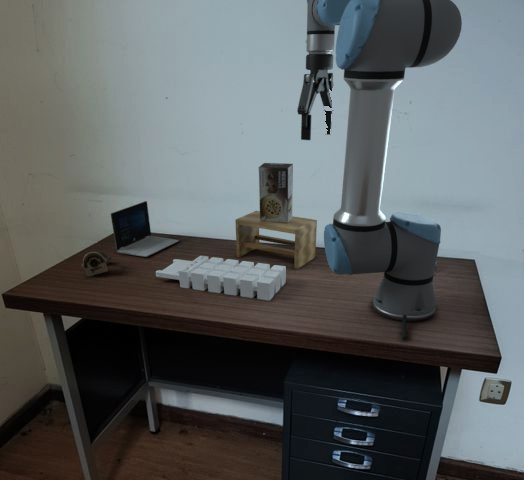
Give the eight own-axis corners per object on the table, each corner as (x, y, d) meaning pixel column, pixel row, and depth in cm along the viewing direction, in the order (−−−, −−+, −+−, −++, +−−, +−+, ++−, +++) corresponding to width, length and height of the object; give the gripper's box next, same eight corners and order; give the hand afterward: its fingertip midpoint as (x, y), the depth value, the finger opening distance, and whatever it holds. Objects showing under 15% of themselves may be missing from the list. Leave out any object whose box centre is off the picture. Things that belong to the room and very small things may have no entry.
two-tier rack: (297, 269, 150) (298, 230, 144) (236, 256, 160) (235, 219, 154) (315, 257, 158) (317, 220, 152) (256, 246, 169) (255, 210, 163)
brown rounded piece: (67, 259, 143) (96, 254, 140) (89, 241, 153) (117, 236, 150) (78, 281, 147) (106, 277, 144) (99, 262, 157) (126, 258, 154)
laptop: (146, 258, 159) (141, 217, 152) (116, 252, 164) (109, 213, 157) (179, 242, 173) (175, 204, 166) (150, 237, 178) (146, 200, 171)
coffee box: (292, 217, 155) (293, 163, 146) (288, 223, 149) (288, 167, 141) (264, 215, 157) (264, 162, 149) (258, 221, 151) (258, 166, 143)
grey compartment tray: (269, 283, 128) (152, 267, 139) (269, 300, 130) (154, 283, 141) (286, 266, 138) (175, 252, 150) (285, 282, 141) (177, 267, 152)
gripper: (326, 53, 147) (323, 131, 158) (285, 53, 129) (284, 141, 139) (350, 53, 143) (345, 132, 154) (311, 53, 125) (308, 143, 136)
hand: (316, 137), depth 147 cm, fingers open, 13 cm apart
